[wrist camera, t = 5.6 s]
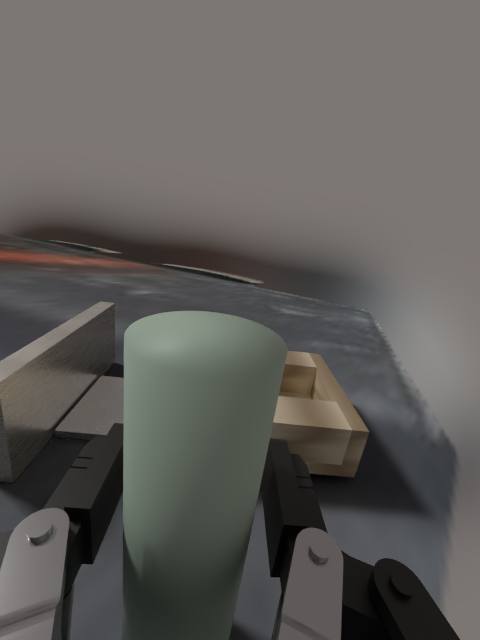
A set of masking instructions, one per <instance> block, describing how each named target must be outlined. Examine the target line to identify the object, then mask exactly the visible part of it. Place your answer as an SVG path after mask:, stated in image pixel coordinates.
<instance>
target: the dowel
mask: <svg viewBox="0 0 480 640" xmlns="http://www.w3.org/2000/svg"><path fill="white" fill-rule="evenodd" d="M286 357H287V345H286V343H285V341H284V340H283V339H282V338H281V337H280V336H279V335H278V334H277V333H275V332H274V331H272V330H271V329H269V328H267V327H265V326H263V325H261V324H259V323H256V322H254V321H251V320H248V319H244V318H241V317H237V316H233V315H228V314H222V313H215V312H205V311H174V312H165V313H160V314H155V315H151V316H148V317H144V318H142V319H140V320H138V321H136V322H134V323H133V324H131V325H130V326H129V327H128V328H127V330H126V331H125V334H124V440H123V617H122V640H229V637H230V632H231V627H232V623H233V618H234V613H235V608H236V603H237V598H238V593H239V588H240V583H241V578H242V573H243V568H244V563H245V559H246V554H247V549H248V544H249V539H250V534H251V529H252V524H253V519H254V514H255V509H256V504H257V499H258V495H259V490H260V485H261V480H262V475H263V470H264V465H265V460H266V455H267V450H268V445H269V440H270V436H271V431H272V426H273V421H274V416H275V411H276V406H277V401H278V396H279V391H280V386H281V381H282V376H283V372H284V367H285V362H286Z"/></svg>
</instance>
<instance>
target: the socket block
mask: <svg viewBox="0 0 480 640" xmlns="http://www.w3.org/2000/svg"><path fill="white" fill-rule="evenodd" d="M368 435H369V430H368V429H367V427H366V426H365V424H364V422H363V421H362V419H361V418H360V416H359V415H358V413H357V412H356V410H355V409H354V407H353V405H352V404H351V402H350V401H349V399H348V398H347V396H346V395H345V393H344V391H343V390H342V388H341V387H340V385H339V384H338V382H337V381H336V379H335V377H334V376H333V374H332V373H331V371H330V370H329V368H328V367H327V365H326V364H325V362H324V360H323V359H322V357H321V356H320V354H313V353H304V352H295V351H287V357H286V362H285V367H284V372H283V376H282V381H281V386H280V391H279V396H278V401H277V406H276V411H275V416H274V421H273V426H272V431H271V436H270V438H276V439H286V440H287V443H288V447H289V451H290V454H299V455H300V457H301V458H302V459H303V461H304V462H305V463H306V464H307V467H308V470H309V473H310V474H321V475H332V476H344V477H355V474H356V471H357V468H358V465H359V462H360V459H361V456H362V453H363V450H364V447H365V444H366V441H367V438H368Z"/></svg>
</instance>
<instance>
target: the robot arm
mask: <svg viewBox="0 0 480 640" xmlns="http://www.w3.org/2000/svg"><path fill="white" fill-rule="evenodd" d="M123 440H124V424H122V423H114V424H113V425H112V427H111V429H110V430H109V432H108V434H107V435H106V436H98V435H97V436H96V437H95V438H93V439H92V440H91V441H90V442H88V443H87V444H86V445H85V446H84V447H83V449H82V450H81V452H80V453H79V455H78V457H77V459H75V461H74V462H73V464H72V465H71V468H70V469H69V470H68V471H67V473H66V474H65V476H64V477H63V479H62V481H61V482H60V484H59V485H58V487H57V488H56V490H55V491H54V493H53V494H52V496H51V497H50V499H49V500H48V502H47V503H46V505H45V506H44V507H43V509H42V510H40V511H37V512H35V513H33V514H31V515H30V516H28V517H27V518H25V519H24V520H23V521H22V522H20V524H19V525H18V526H17V527H16V528H15V529H13V530H11V531H7V532H3V533H0V640H69V639H70V627H71V616H72V604H73V593H74V580H75V578H76V576H77V573H78V571H79V569H80V567H81V564H93V562H94V560H95V558H96V555H97V553H98V550H99V548H100V545H101V543H102V541H103V538H104V536H105V533H106V531H107V528H108V526H109V524H110V521H111V519H112V516H113V514H114V511H115V509H116V507H117V504H118V502H119V499H120V497H121V495H122V492H123ZM261 489H262V498H263V508H264V518H265V527H266V537H267V547H268V557H269V566H270V576H271V577H280V582H281V589H282V592H281V596H280V600H279V605H278V609H277V614H276V619H275V624H274V629H273V633H272V638H271V640H460V639H459V637H458V636H457V635H456V633H455V631H454V630H453V628H452V627H451V626H450V624H449V623H448V621H447V620H446V618H445V617H444V615H443V614H442V612H441V611H440V609H439V608H438V606H437V605H436V603H435V602H434V600H433V599H432V597H431V596H430V594H429V593H428V592H427V590H426V589H425V587H424V586H423V584H422V583H421V581H420V580H419V579H418V577H417V576H416V575H415V574H414V573H413V572H412V571H411V570H410V569H409V568H408V567H406V566H405V565H404V564H402V563H400V562H398V561H396V560H393V559H388V558H384V559H380V560H379V561H377V563H376V564H375V566H372V565H369V564H367V563H364V562H362V561H360V560H357V559H355V558H353V557H351V556H349V555H347V554H346V553H344V552H343V551H342V550H341V549H340V547H339V546H338V544H337V543H336V541H335V540H334V539H333V538H332V537H331V536H330V535H329V534H328V533H327V530H326V527H325V523H324V520H323V517H322V513H321V510H320V507H319V503H318V500H317V497H316V493H315V490H314V487H313V483H312V480H311V477H310V473H309V470H308V467H307V464H306V463H305V462H304V461H303V459H302V458H301V457H300V455H299V454H290V451H289V447H288V443H287V440H286V439H276V438H270V440H269V445H268V450H267V455H266V460H265V465H264V470H263V475H262V480H261Z"/></svg>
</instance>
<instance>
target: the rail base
mask: <svg viewBox="0 0 480 640" xmlns="http://www.w3.org/2000/svg"><path fill="white" fill-rule="evenodd" d="M114 363H115V303H108V302H99V303H97V304H95V305H94V306H92V307H90V308H89V309H87V310H85V311H84V312H82V313H80V314H79V315H77V316H75V317H74V318H72V319H70V320H69V321H67V322H65V323H64V324H62V325H60V326H59V327H57V328H55V329H54V330H52V331H50V332H49V333H47V334H45V335H44V336H42V337H40V338H39V339H37V340H35V341H34V342H32V343H30V344H29V345H27V346H25V347H24V348H22V349H20V350H18V351H17V352H15V353H13V354H12V355H10V356H8V357H7V358H5V359H3V360H2V361H0V482H10V483H14V481H15V480H16V479H17V478H18V477H19V476H20V474H21V473H22V472H23V471H24V470H25V468H26V467H27V466H28V465H29V464H30V462H31V461H32V460H33V459H34V458H35V457H36V455H37V454H38V453H39V452H40V451H41V449H42V448H43V447H44V446H45V445H46V444H47V442H48V441H49V440H50V439H51V438H52V436H53V435H54V434H55V437H61V438H72V439H83V440H92V439H93V438H95V437H96V436H97V435H98V436H106V435H107V434H108V432H109V430H110V429H111V427H112V425H113V424H114V423H122V424H124V378H119V377H110V376H104V375H105V374H106V373H107V371H108V370H109V369H110V368H111V367H112V365H113V364H114Z"/></svg>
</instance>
